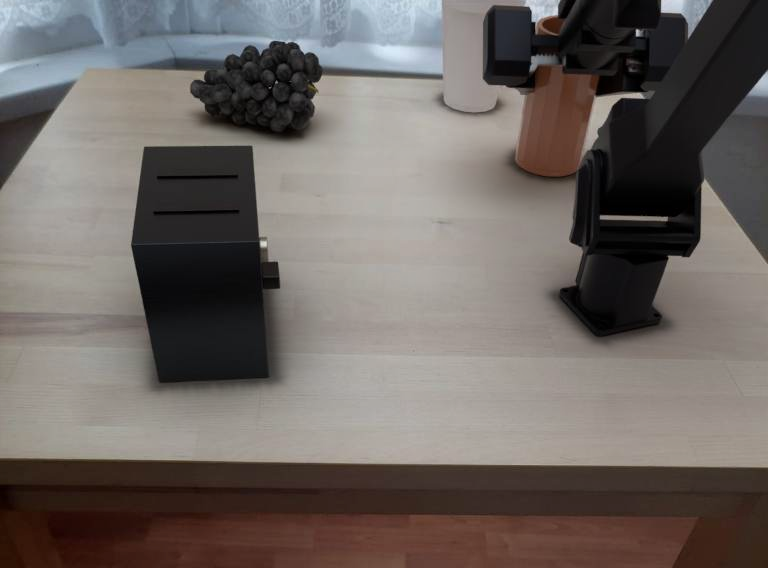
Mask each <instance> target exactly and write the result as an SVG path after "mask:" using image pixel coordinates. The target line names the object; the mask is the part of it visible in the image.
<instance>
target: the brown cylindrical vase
mask: <svg viewBox="0 0 768 568" xmlns="http://www.w3.org/2000/svg"><path fill="white" fill-rule="evenodd" d="M562 25H563V19H558V14H557V15H556V14H555V15H548V16H544V17H542V18H540V19H539V20H538V21H537V22H536V34H537V35H558V34H559V31H560V28H561V27H562ZM539 56H540V55H539ZM543 56H544V55H543ZM552 57H553V56H552ZM556 57H557V56H556ZM562 69H563V67H554V66H538V67H537V68H536V70H535V88H534V89H533V90H532V91H530V92H529V93H528V94H526V95H524V98H523V104H522V110H521V116H520V122H519V129H518V135H517V139H516V146H515V155H514V160H515V163H516V164H517V166H518V167H519V168H521V169H523V170H524V171H526V172H528V173H530V174H534V175H537V176H542V177H553V178H555V177H559V178H560V177H566V176H569V175H573V174H576V173H577V171H578V170H579V166H580V164H581V163H582V161H583V158H584V152H585V148H586V143H587V140H588V139H587V138H588V136H589V135H588V134H589V131H590V126H591V121H592V117H593V113H594V109H595V104H596V100H597V97H596V96H597V91H598V87H599V83H600V78H601V75H584V74H562Z"/></svg>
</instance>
